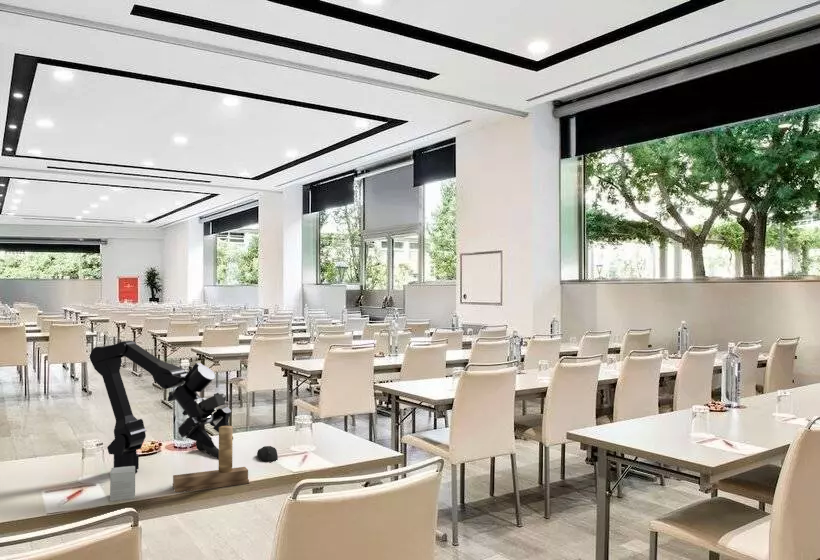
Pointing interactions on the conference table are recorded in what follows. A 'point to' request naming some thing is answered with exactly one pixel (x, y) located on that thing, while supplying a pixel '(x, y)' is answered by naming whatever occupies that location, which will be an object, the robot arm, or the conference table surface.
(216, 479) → the ridge
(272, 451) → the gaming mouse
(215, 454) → the microphone
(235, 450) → the conference table surface
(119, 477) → the product box
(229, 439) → the dowel
